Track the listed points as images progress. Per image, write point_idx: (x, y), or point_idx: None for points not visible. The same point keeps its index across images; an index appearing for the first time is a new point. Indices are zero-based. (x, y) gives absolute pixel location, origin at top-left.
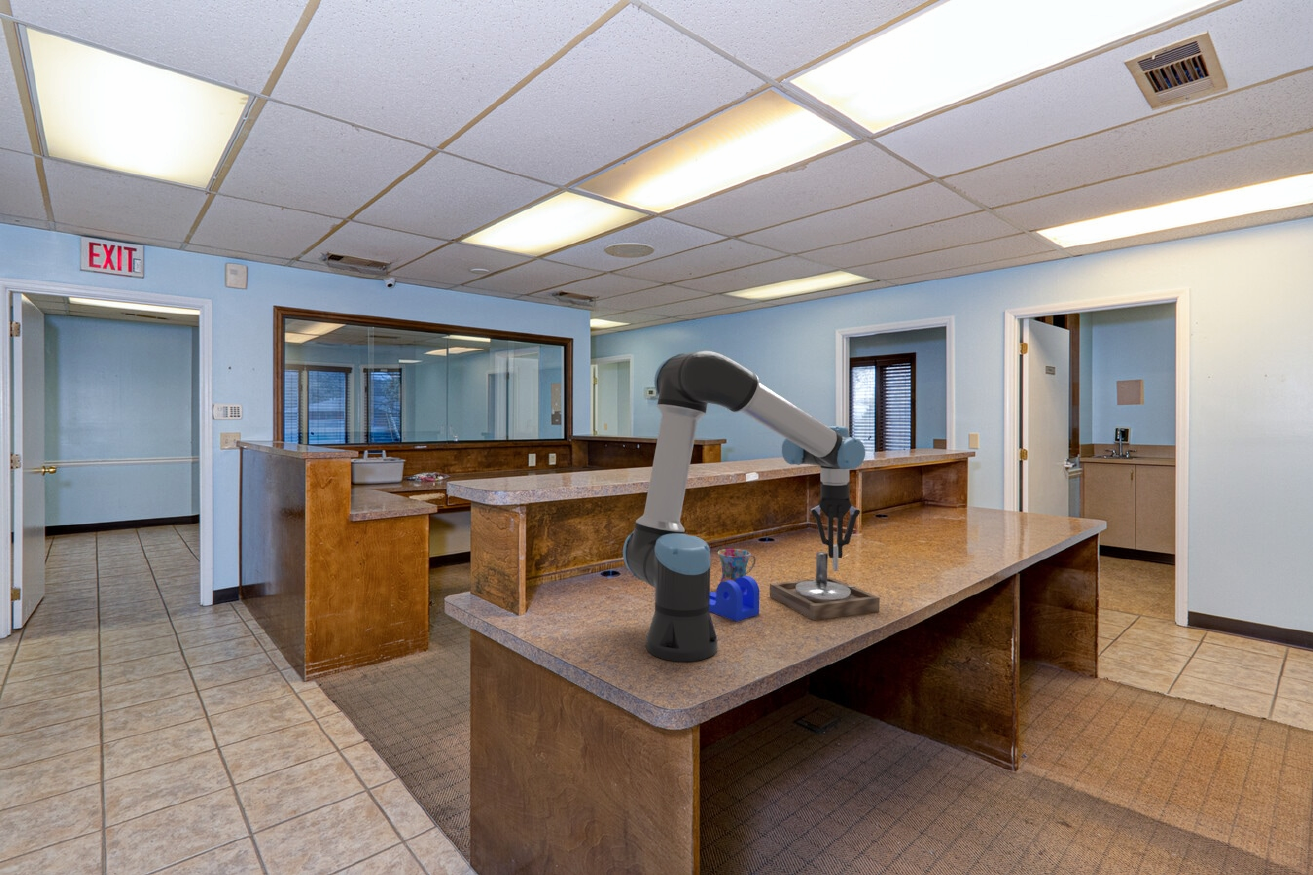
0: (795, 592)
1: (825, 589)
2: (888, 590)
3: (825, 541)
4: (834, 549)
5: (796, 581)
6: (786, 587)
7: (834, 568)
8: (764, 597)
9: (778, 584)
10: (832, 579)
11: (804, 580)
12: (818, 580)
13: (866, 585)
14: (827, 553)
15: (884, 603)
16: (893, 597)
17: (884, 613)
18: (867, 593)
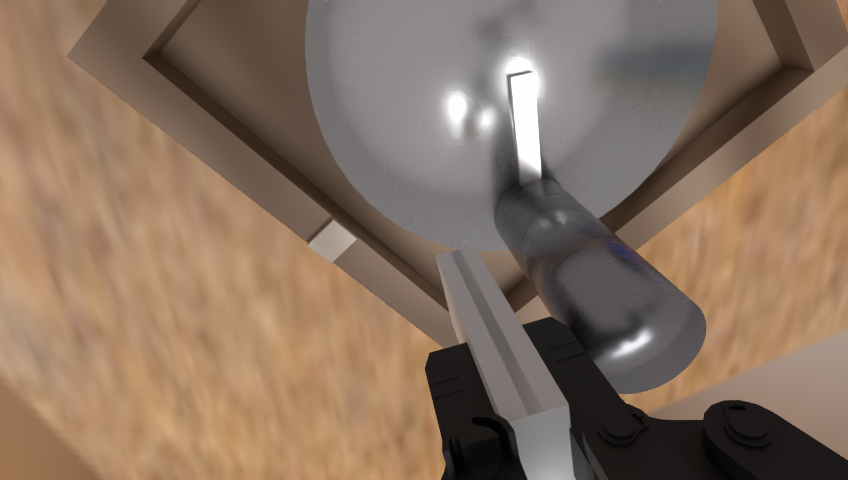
0: None
1: (498, 39)
2: (192, 433)
3: (739, 438)
4: (541, 381)
5: (678, 204)
6: (730, 119)
7: (473, 256)
8: None
9: (806, 82)
10: None
11: None
12: (559, 186)
13: (307, 452)
14: None
15: (143, 226)
16: (134, 346)
17: (70, 10)
18: (192, 135)
